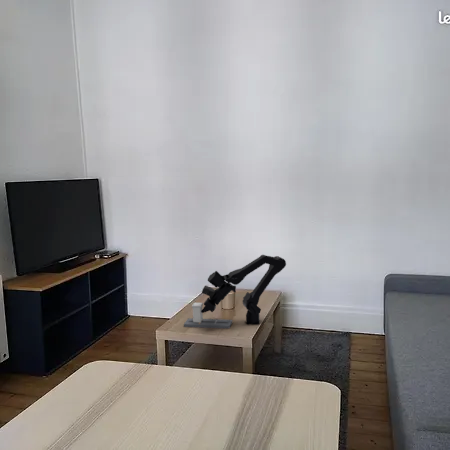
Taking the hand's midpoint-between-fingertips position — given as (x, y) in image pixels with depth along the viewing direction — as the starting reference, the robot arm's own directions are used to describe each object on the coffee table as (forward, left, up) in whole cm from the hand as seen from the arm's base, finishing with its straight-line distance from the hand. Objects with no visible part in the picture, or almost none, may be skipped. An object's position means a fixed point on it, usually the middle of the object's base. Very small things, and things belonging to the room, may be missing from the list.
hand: (201, 312), depth 240 cm
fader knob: (+2, 0, -5) cm, 5 cm away
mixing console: (-3, 0, -7) cm, 7 cm away
